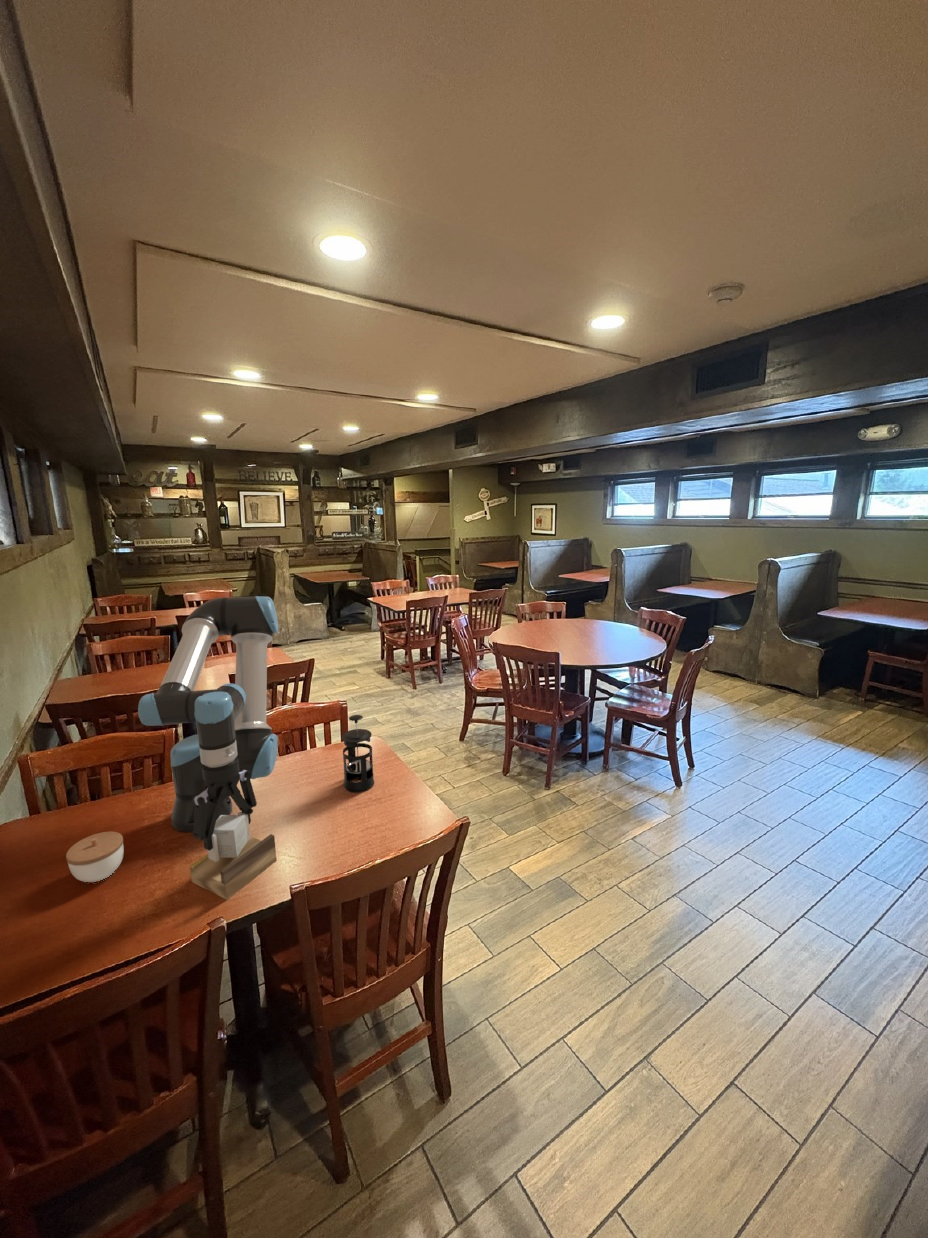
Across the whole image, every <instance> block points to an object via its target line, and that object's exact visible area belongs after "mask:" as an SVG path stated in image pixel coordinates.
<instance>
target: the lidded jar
mask: <svg viewBox="0 0 928 1238" xmlns="http://www.w3.org/2000/svg"><path fill="white" fill-rule="evenodd" d="M124 848H125V847H124V836H123V834H122V833H119V832H118V831H103V832H98V833H94V834H91V835H89V836H87V837H85V838H82V839H80V840H78V842H75V844H73V845H72V846H71V847H70V848H69V849H68V850H67V852H66V855H65V859H66V861H67V862H66V863H67V864H68V868H69V872H70V873H71V875H72V876H73V877H74V878H75V879H76V880H78V881H81V882H84V883H86V882H96V881H100V880H103V879H105V878H107V877H109V876H110V875H112V873H114V874H115V872H116V871H115V870H118V868H119V867H120V866H121V863H122V861H123V859H124V854H125V853H124V851H125V849H124ZM114 871H115V872H114ZM112 876H113V875H112ZM110 877H111V876H110ZM110 877H109V878H110ZM107 879H108V878H107ZM105 880H106V879H105ZM103 881H104V880H103Z"/></svg>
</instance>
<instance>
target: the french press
mask: <svg viewBox="0 0 928 1238" xmlns="http://www.w3.org/2000/svg"><path fill="white" fill-rule="evenodd" d="M363 718H364V717H363V716H362V714H354V715H351V716H349V717H348V720H349V721H351V722H354V724H355V729H350V730H347V731H345V732H344V733H343V734H342V735H341V738H342V739H341V740H343V744H344V748H343V750H342V758H343V759H342V760H343V762H342V763H343V775H344V777H343V778H344V784H343V788H344V790H346V791H348V792H350V793H353V794H354V793H355V794H357V793H364V792H367V791H369V790H371V789H372V788H373V787H374V786H375V779H374V765H373V764H374V763H373V747H372V746H371V745H370V744H368V743H370V742H371V737H372V735H373V734H372V732H371V731H370V730H368V729H364V728H358V722H359V721H360V720H362V719H363ZM364 742H368V743H364ZM359 748H366V749H368V751H369V752H367V753H365V754H363V755H359ZM346 752H347V754H346ZM356 752H357V754H356ZM368 758H369V760H368ZM347 760H348V762H347ZM357 779H361V781H355V782H354V781H353V780H357Z"/></svg>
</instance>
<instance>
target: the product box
mask: <svg viewBox="0 0 928 1238" xmlns="http://www.w3.org/2000/svg"><path fill="white" fill-rule="evenodd" d="M213 834H215V835H216V836H217V845H218V853H219V857H230V858H236V857H238V855H239V854H240V852H241V850H242V849H243V847H244V846H245V844H246V843H247V841H248V840H247V828H246V818H245V815H238V814H230V815H220V817H219V818H218V819H217V820H216V823H215V827H214V832H213Z"/></svg>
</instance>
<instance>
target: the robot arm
mask: <svg viewBox="0 0 928 1238" xmlns="http://www.w3.org/2000/svg"><path fill="white" fill-rule="evenodd" d="M276 609H277V608H276V606H275V602H274V601H273V599H272V598H271V597H270V596H264V595H263V596H261V595H260V596H258V595H253V596H236V597H235V596H234V597H233V596H232V597H231V596H230V597H216V598H212V599H210V600H208V601H205V602H203V603H202V604H201V605H199V606H197V608H195V609H194V610H192V612H190V614H189V615H188V616H187V617H186V619H185V621H184V622H183V625H182V627H181V633H182V635H181V636H182V637H181V639H180V641H179V643H178V645H177V648H176V650H175V653H173V654H174V655H173V656H172V659H171V661H170V663H169V666H168V668H167V669H166V672H165V675H164V677H163V679H162V682H161V684H160V686H159V687H158V690H157V692H156V693H155V692H151V693H148V694H145V695H143V696H141V698H140V699H139V702H138V705H137V706H138V708H137V715H138V718H139V721H140V722H141V724H142V725H144V726H160V727H161V726H168V725H177V724H178V725H180V724H188V723H190V724H191V723H195V724H196V731H197V733H196V734H193V735H191V736H187V737H185V738H184V739H181V740H180V741H178V742H177V743H175V744H174V746H172V748H171V750H170V767H171V773H172V780H173V785H174V786H173V787H174V794H175V799H174V804H173V809H172V812H171V817H170V818H171V819H170V820H171V825H172V827H173V829H174V830H177V831H178V832H182V833H192V837H193V838H196V839H197V840H200V841H202V842H203V848H204V850H206V851H207V854H208V858H209V859H211V860H213V861H215V862H217V861H219V853H218V845H217V836H216V835H215V834H213V832H214V827H215V823H216V820H217V819H218V818H219V817H220V815H232V811H233V803H232V800H233V802H234V804H235V805H236V806H237V808H238V809H239V810H240V811H239V812H237V814H236V815H245V818H246V828H247V840H249V839H250V836H251V833H250V832H251V831H250V824H251V821H252V820H251V815H252V814H253V812H254V809H253V808H255V807H256V806H257V805H258V804H257V799H256V796H255V792H254V788H253V784H252V782H251V781H252V780H256V779H260V778H261V779H262V778H266V777H268V776H270V775H271V774H272V773H273V772H274V769H275V765H276V762H277V757H278V747H279V745H278V743H279V742H278V741H279V740H278V736H277V734H275V733H273V732H272V727H271V726H269V724H267V696H268V695H267V689H268V688H267V687H268V685H267V684H268V683H267V682H268V681H267V680H268V679H267V677H268V676H267V675H268V644H269V643H271V642H273V636H274V635H275V634H277V633H278V632H279V622H278V621H279V620H278V615H277V610H276ZM273 634H274V635H273ZM222 636H230V640H231V641H232V642H233V643H234V644H235V647H236V649H235V650H236V651H235V675H234V677H235V681H234V683H230V682H229V683H224V684H222V685H221V686H219V687H217V688H216V689H215V688H214V689H203V690H195V689H196V686H197V683H198V680H199V678H200V675H201V673H202V672H201V671H202V669H203V668H204V664H205V661H206V659H207V656H208V654H209V651H210V648H211V645H212V644H213V643H215V642H216V641H217V639H218V638H219V637H222ZM238 784H240V787H241V790H240V789H239V787H238ZM241 792H242V793H241Z"/></svg>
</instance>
